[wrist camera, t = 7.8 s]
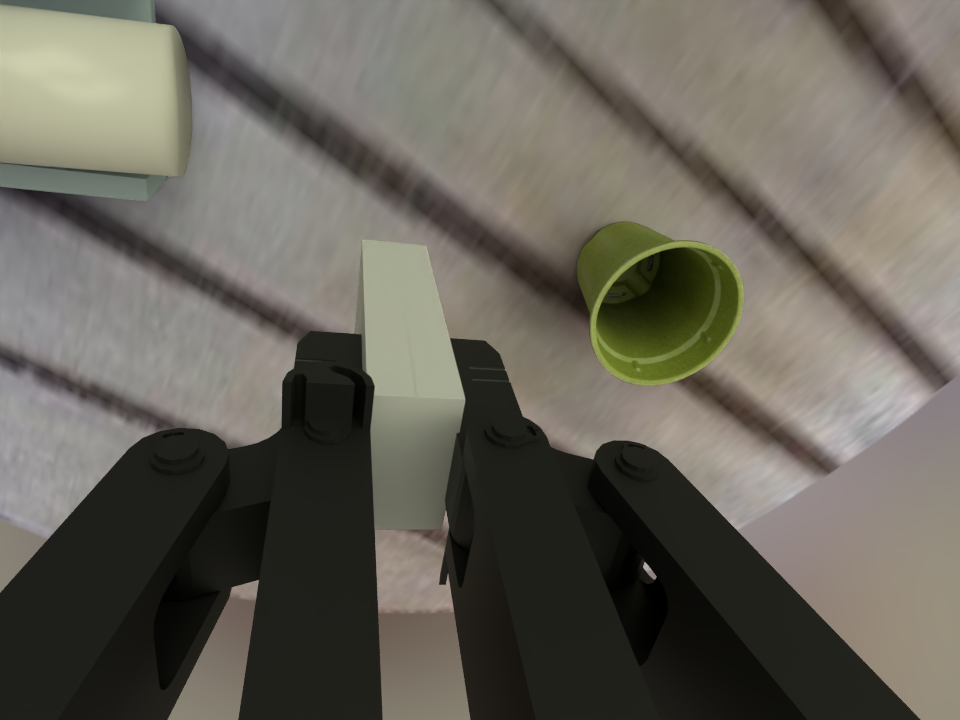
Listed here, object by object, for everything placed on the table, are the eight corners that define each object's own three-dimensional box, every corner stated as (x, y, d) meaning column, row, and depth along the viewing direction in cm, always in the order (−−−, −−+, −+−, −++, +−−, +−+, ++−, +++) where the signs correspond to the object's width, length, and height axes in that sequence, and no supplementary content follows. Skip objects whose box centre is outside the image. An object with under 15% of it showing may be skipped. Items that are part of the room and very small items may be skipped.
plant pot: (551, 203, 43) (593, 253, 36) (689, 188, 44) (756, 233, 37) (552, 329, 48) (588, 395, 41) (675, 313, 49) (732, 374, 42)
